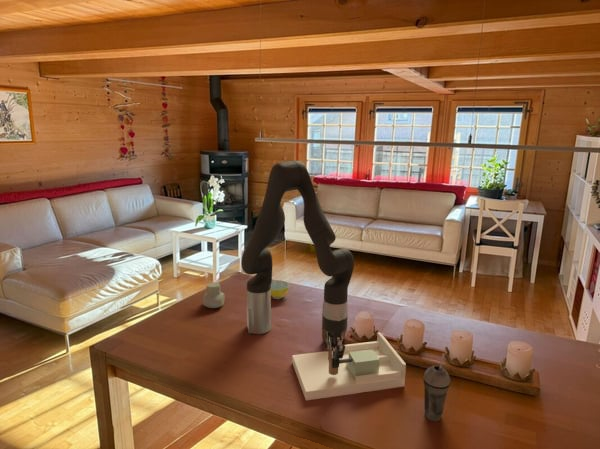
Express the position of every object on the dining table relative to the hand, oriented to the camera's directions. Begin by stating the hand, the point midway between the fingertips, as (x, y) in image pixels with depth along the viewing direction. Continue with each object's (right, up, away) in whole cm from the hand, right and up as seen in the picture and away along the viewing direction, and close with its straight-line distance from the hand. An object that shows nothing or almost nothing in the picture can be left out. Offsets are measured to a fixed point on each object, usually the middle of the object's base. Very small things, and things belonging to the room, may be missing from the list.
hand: (333, 363), depth 131 cm
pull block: (+6, -4, +3) cm, 8 cm away
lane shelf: (+5, -6, +7) cm, 11 cm away
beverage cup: (+28, -11, -11) cm, 32 cm away
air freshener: (-49, +7, +56) cm, 75 cm away
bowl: (-21, +9, +65) cm, 69 cm away
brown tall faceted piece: (+3, -1, +29) cm, 29 cm away
